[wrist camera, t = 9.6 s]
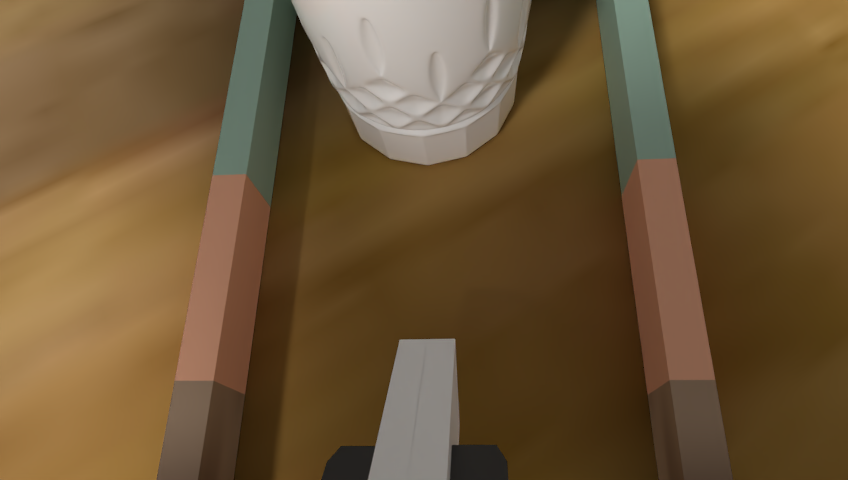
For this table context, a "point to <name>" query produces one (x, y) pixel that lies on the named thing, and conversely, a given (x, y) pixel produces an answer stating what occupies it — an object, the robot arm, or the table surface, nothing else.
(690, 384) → the lane walls
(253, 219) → the walls
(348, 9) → the white cup
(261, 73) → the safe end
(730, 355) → the table surface
